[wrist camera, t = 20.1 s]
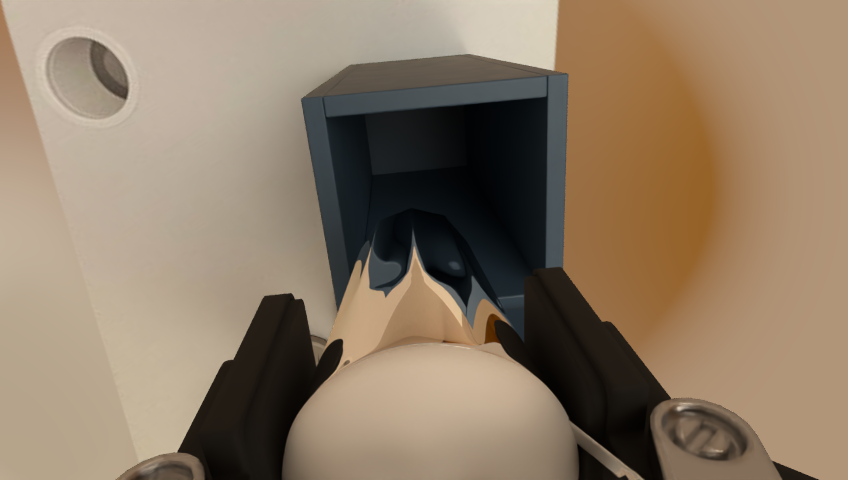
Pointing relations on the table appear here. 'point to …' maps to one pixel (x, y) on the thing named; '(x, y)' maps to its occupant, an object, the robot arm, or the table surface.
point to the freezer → (444, 159)
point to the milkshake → (430, 375)
